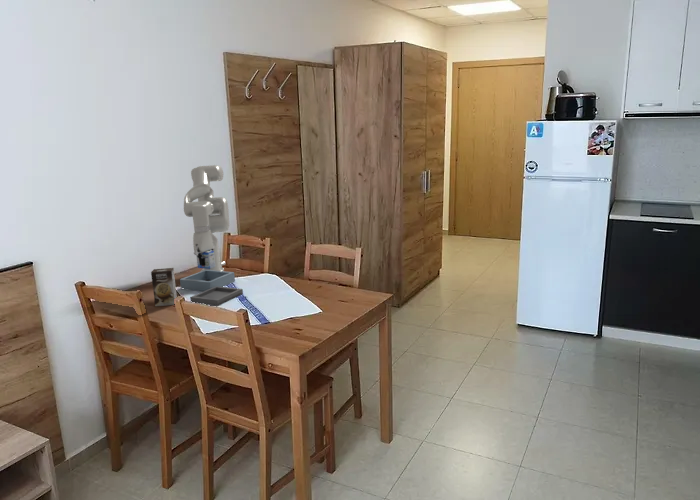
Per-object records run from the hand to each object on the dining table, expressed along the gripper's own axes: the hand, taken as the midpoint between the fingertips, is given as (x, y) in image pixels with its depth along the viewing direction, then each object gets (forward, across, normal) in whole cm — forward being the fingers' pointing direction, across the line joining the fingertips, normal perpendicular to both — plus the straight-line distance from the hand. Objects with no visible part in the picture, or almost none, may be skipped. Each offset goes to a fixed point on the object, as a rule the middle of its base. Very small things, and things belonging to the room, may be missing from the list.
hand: (206, 263), depth 272 cm
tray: (+10, +17, +20) cm, 28 cm away
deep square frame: (+11, +1, +1) cm, 11 cm away
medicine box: (+2, 0, 0) cm, 2 cm away
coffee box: (+10, +31, +2) cm, 33 cm away
